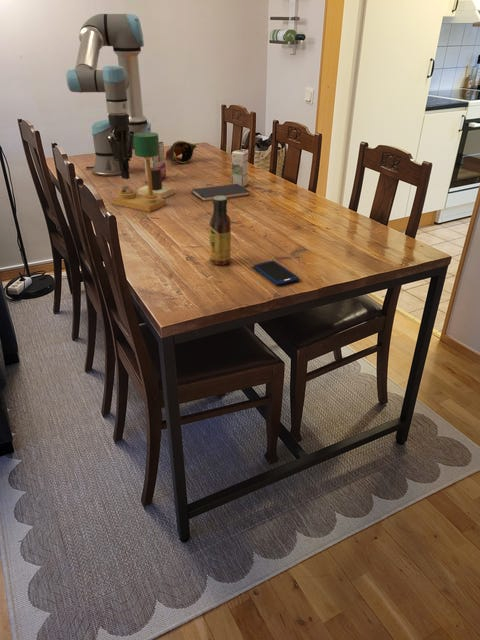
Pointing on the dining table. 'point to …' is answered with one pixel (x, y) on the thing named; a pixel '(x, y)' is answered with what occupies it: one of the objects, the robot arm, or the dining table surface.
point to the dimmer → (157, 191)
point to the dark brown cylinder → (156, 178)
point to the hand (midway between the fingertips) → (125, 178)
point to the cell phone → (276, 272)
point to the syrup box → (240, 167)
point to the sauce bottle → (220, 232)
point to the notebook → (220, 191)
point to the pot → (181, 151)
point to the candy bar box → (158, 161)
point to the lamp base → (138, 201)
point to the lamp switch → (126, 190)
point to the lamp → (147, 154)
